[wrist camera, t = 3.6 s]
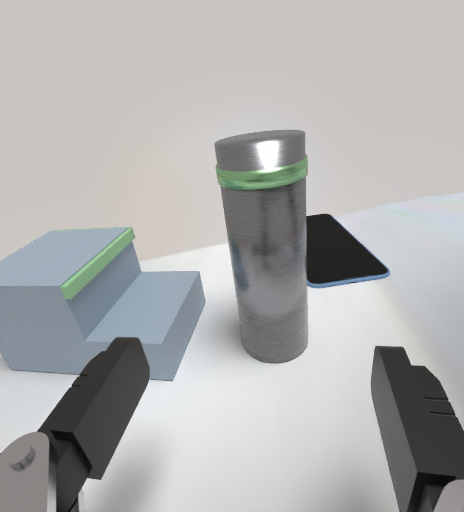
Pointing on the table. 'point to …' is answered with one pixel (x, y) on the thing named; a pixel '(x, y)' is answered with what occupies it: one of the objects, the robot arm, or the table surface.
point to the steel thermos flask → (267, 238)
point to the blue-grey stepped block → (92, 303)
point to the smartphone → (337, 255)
